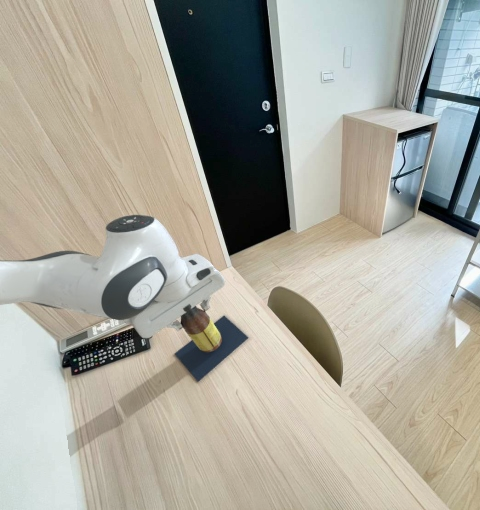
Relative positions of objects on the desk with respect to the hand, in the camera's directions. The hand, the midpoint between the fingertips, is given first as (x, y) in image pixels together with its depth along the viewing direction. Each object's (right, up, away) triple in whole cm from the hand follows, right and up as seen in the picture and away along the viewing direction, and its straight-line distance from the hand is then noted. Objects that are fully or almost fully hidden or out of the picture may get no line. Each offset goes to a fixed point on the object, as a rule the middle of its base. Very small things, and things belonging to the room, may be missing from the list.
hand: (193, 317), depth 67 cm
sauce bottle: (0, -10, +9) cm, 13 cm away
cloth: (0, -10, +10) cm, 15 cm away
